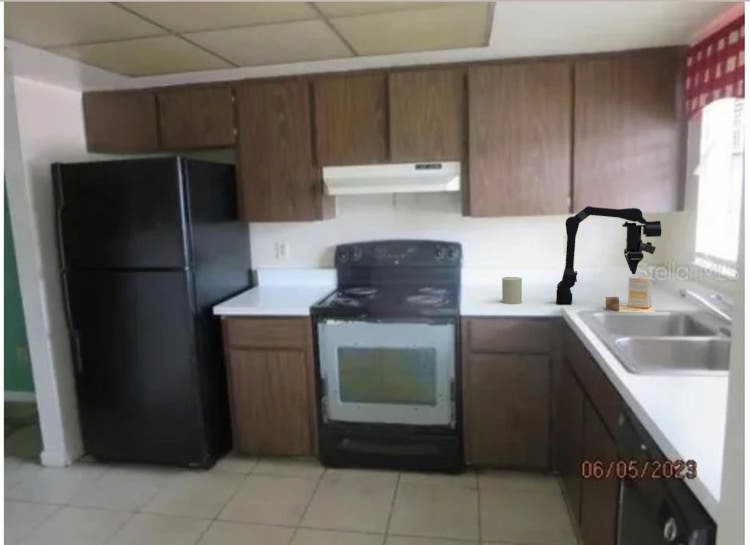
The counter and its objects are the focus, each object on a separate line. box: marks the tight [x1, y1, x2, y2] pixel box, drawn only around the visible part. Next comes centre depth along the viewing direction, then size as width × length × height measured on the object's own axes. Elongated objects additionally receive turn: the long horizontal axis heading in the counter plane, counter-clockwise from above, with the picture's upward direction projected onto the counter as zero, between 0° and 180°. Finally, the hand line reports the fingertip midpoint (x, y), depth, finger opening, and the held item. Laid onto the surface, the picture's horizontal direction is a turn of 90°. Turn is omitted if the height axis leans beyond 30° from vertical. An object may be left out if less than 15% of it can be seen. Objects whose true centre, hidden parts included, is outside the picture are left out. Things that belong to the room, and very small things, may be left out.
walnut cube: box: [605, 296, 620, 312], centre depth 227 cm, size 5×5×5 cm
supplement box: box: [627, 276, 653, 309], centre depth 228 cm, size 8×5×13 cm, turn 47°
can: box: [501, 276, 523, 305], centre depth 250 cm, size 9×9×12 cm
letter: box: [617, 303, 656, 314], centre depth 228 cm, size 14×16×1 cm
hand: (632, 272), depth 232 cm, fingers open, 9 cm apart
